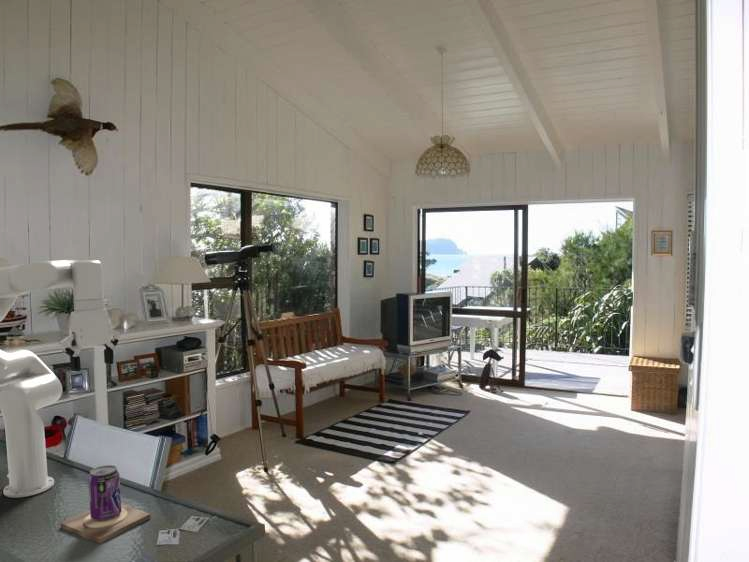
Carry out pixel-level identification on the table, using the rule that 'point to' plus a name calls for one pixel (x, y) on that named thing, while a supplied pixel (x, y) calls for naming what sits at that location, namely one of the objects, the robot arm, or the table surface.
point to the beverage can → (104, 493)
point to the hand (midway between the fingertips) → (93, 367)
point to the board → (105, 524)
